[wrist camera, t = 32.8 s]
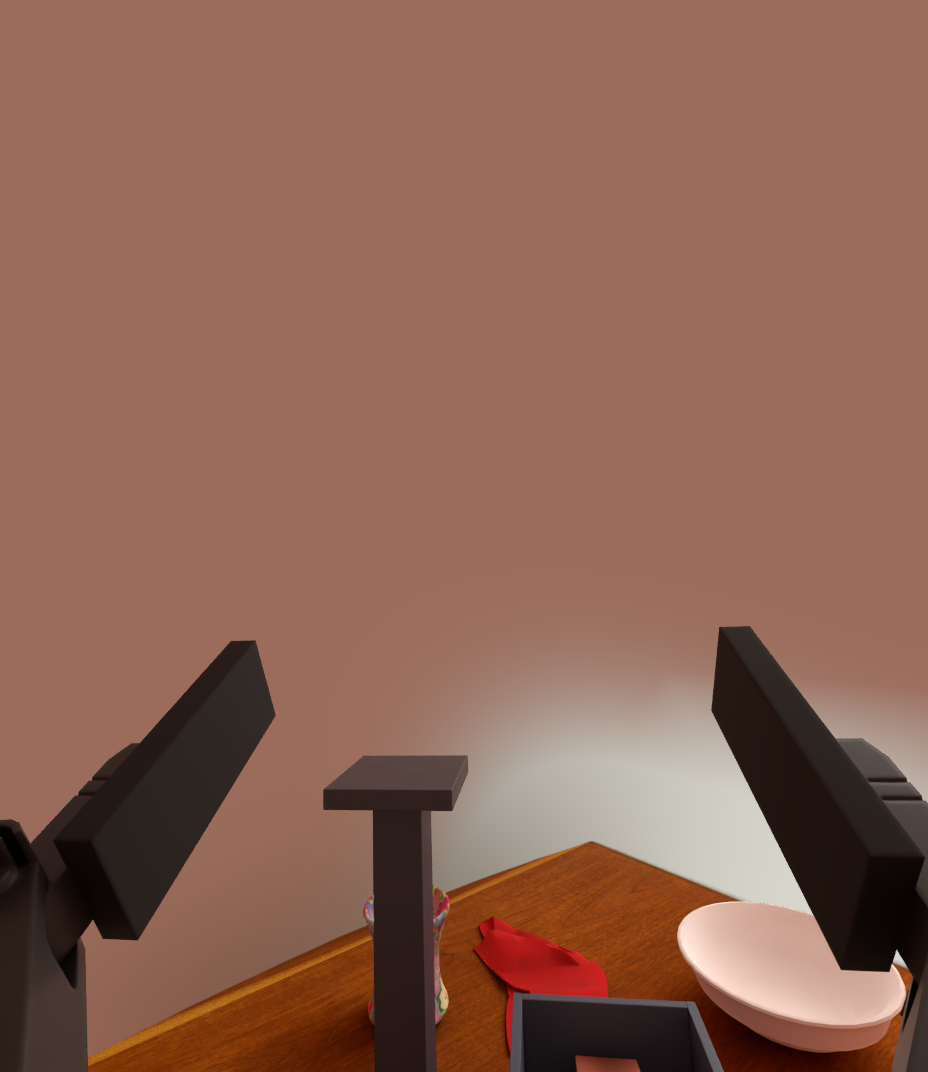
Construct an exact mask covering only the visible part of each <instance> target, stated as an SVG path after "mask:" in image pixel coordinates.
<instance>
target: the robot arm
mask: <svg viewBox="0 0 928 1072" xmlns="http://www.w3.org/2000/svg"><path fill="white" fill-rule="evenodd" d="M712 713H713V714H714V717H715V719H716V721H717V723H718V725H719V727H720V729H721V731H722V733H723V735H724V737H725V739H726V741H727V743H728V745H729V747H730V749H731V750H732V753H733V755H734V757H735V759H736V761H737V763H738V765H739V767H740V769H741V771H742V773H743V775H744V777H745V779H746V781H747V783H748V785H749V787H750V789H751V791H752V793H753V795H754V797H755V799H756V801H757V803H758V805H759V807H760V809H761V811H762V813H763V815H764V817H765V819H766V821H767V823H768V825H769V827H770V829H771V831H772V833H773V835H774V837H775V839H776V841H777V843H778V845H779V847H780V848H781V851H782V853H783V855H784V857H785V859H786V861H787V863H788V865H789V867H790V869H791V871H792V873H793V875H794V877H795V879H796V881H797V883H798V885H799V887H800V889H801V891H802V893H803V895H804V897H805V899H806V901H807V903H808V905H809V907H810V909H811V911H812V913H813V915H814V917H815V919H816V921H817V923H818V925H819V927H820V929H821V931H822V933H823V935H824V937H825V939H826V941H827V943H828V945H829V947H830V949H831V951H832V953H833V955H834V957H835V959H836V961H837V963H838V965H839V967H840V969H841V970H847V971H871V972H890V969H891V966H892V962H893V959H894V956H895V953H896V950H898V952H899V954H900V956H901V957H902V959H903V960H904V962H905V964H906V966H907V967H908V969H909V971H910V972H911V974H912V975H913V978H912V981H911V984H910V987H909V989H908V992H907V995H906V998H905V1001H904V1004H903V1007H902V1010H901V1013H900V1015H901V1016H903V1018H902V1022H901V1027H900V1031H899V1036H898V1040H897V1045H896V1049H895V1054H894V1058H893V1063H892V1067H891V1072H928V803H927V802H926V801H923V800H922V796H921V795H920V794H919V792H918V791H917V790H916V789H915V788H914V787H913V785H912V784H911V783H908V782H907V778H906V777H905V776H904V775H903V773H902V772H901V771H900V770H899V769H898V768H897V766H896V765H895V764H894V763H893V762H892V761H891V759H890V758H889V757H888V756H886V755H885V754H883V753H882V752H881V751H879V750H878V749H876V748H875V747H874V746H872V745H871V744H869V743H868V742H866V741H865V740H864V739H861V738H860V739H835V738H834V736H833V735H832V734H831V733H830V731H829V730H828V729H827V727H826V726H825V725H824V723H823V722H822V721H821V719H820V718H819V717H818V715H817V714H816V713H815V711H814V710H813V709H812V708H811V706H810V705H809V704H808V703H807V701H806V700H805V699H804V697H803V696H802V694H801V693H800V692H799V690H798V689H797V688H796V687H795V685H794V684H793V683H792V681H791V680H790V679H789V678H788V676H787V675H786V673H785V672H784V671H783V670H782V668H781V667H780V666H779V664H778V663H777V662H776V660H775V659H774V658H773V656H772V655H771V654H770V653H769V651H768V650H767V648H766V647H765V646H764V645H763V643H762V642H761V641H760V639H759V638H758V637H757V635H756V634H755V633H754V631H753V630H752V629H751V627H750V626H744V627H743V626H741V627H719V636H718V647H717V658H716V668H715V680H714V689H713V700H712ZM274 717H275V711H274V708H273V704H272V700H271V696H270V693H269V689H268V685H267V682H266V678H265V674H264V671H263V667H262V663H261V659H260V656H259V652H258V648H257V645H256V641H231V642H230V643H229V644H228V645H227V646H226V647H225V649H224V650H223V651H222V652H221V653H220V654H219V655H218V656H217V658H216V659H215V660H214V661H213V662H212V663H211V664H210V665H209V666H208V668H207V669H206V670H205V671H204V672H203V673H202V674H201V675H200V677H199V678H198V679H197V680H196V681H195V682H194V683H193V684H192V685H191V687H190V688H189V689H188V690H187V691H186V692H185V693H184V694H183V695H182V697H181V698H180V699H179V700H178V701H177V702H176V703H175V705H174V706H173V707H172V708H171V709H170V710H169V711H168V712H167V713H166V714H165V716H164V717H163V718H162V719H161V720H160V721H159V722H158V723H157V725H156V726H155V727H154V728H153V729H152V730H151V731H150V732H149V733H148V735H147V736H146V737H145V738H144V739H143V740H142V741H141V743H134V744H130V745H129V746H127V747H126V748H124V749H123V750H122V751H120V752H119V753H117V754H116V755H115V756H113V757H112V758H111V759H109V760H108V761H107V762H106V763H105V764H104V765H103V766H102V768H100V770H99V771H98V772H97V773H96V774H95V775H94V776H93V777H92V778H93V779H92V781H88V782H87V784H86V785H85V786H84V787H83V788H82V789H81V790H80V791H79V794H78V796H75V797H73V799H72V800H71V801H70V802H69V803H68V804H67V805H66V806H65V807H64V808H63V809H62V810H61V811H60V813H59V814H58V815H57V816H56V817H55V818H54V819H53V820H52V821H51V822H50V823H49V824H48V825H47V826H46V828H45V829H44V830H43V831H42V832H41V833H40V834H39V835H38V836H37V837H36V838H35V839H34V840H33V842H32V843H31V844H30V842H29V840H28V838H27V837H26V835H25V833H24V831H23V829H22V827H21V825H20V824H19V823H18V822H16V821H14V820H11V819H10V820H0V1072H88V1057H87V1014H86V1013H87V1012H86V963H85V948H84V945H83V942H82V940H81V938H80V937H81V935H82V934H83V933H84V931H85V930H86V928H87V927H88V926H89V924H90V923H91V921H92V920H94V922H95V924H96V926H97V928H98V930H99V932H100V934H101V936H102V938H103V939H121V940H138V939H139V938H140V936H141V934H142V933H143V931H144V929H145V928H146V926H147V924H148V923H149V921H150V920H151V918H152V916H153V915H154V913H155V911H156V910H157V908H158V907H159V905H160V903H161V901H162V900H163V898H164V897H165V895H166V893H167V892H168V890H169V888H170V887H171V885H172V884H173V882H174V880H175V879H176V877H177V876H178V874H179V872H180V871H181V869H182V867H183V866H184V864H185V862H186V861H187V859H188V858H189V856H190V854H191V853H192V851H193V849H194V847H195V846H196V844H197V843H198V841H199V840H200V838H201V836H202V835H203V833H204V831H205V830H206V828H207V827H208V824H209V823H210V822H211V820H212V818H213V817H214V815H215V814H216V812H217V810H218V809H219V807H220V805H221V804H222V802H223V800H224V799H225V797H226V796H227V794H228V792H229V791H230V789H231V787H232V786H233V784H234V782H235V781H236V779H237V778H238V776H239V774H240V773H241V771H242V769H243V768H244V766H245V765H246V763H247V761H248V760H249V758H250V756H251V755H252V753H253V752H254V750H255V748H256V747H257V745H258V743H259V742H260V740H261V738H262V737H263V735H264V733H265V732H266V730H267V729H268V727H269V725H270V724H271V722H272V720H273V719H274Z"/></svg>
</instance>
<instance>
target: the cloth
mask: <svg viewBox="0 0 928 1072" xmlns="http://www.w3.org/2000/svg"><path fill="white" fill-rule="evenodd" d="M479 925H480V930H481V933H482V935H483V937H484V940H483V942H482V943H480V944H479V945H478V946H476V947H475V948H474V950H475V952H476V953H477V954H478V955H479V957H480V958H481V959H482V960H483V962H484V963H485V964H486V965H487V966H488V967H489V968H490V969H491V970H492V971H493V972H494V973H496V974H497V975H498V976H499V977H500V978H501V979H502V980H504V982H505V984H506V986H507V988H508V995H509V999H508V1004H507V1012H506V1029H507V1040H508V1046H509V1051H511V1031H512V1011H513V993H522V994H523V993H526V994H546V995H566V996H586V997H606V998H608V986H607V979H606V975H605V973H604V972H603V970H602V969H601V967H600V966H599V964H598V963H597V962H592V961H587V960H586V959H585V958H584V957H583V956H582V955H581V953H578V952H575V951H572V950H569V949H565V948H562V947H559V946H558V945H556V944H554V943H552V942H550V941H548V940H546V939H543V938H541V937H538V936H536V935H533V934H530V933H527V932H523V931H520V930H515V929H513V928H512V927H511V926H509V925H508V924H506V923H504V922H502V921H500V920H498V919H496V918H494V916H493V917H491V918H489V919H487V920H485V921H483V922H482V923H479Z"/></svg>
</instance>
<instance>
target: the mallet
mask: <svg viewBox="0 0 928 1072" xmlns="http://www.w3.org/2000/svg"><path fill="white" fill-rule="evenodd" d="M575 1062H576V1072H641V1071H640V1069H639V1066H638V1063H637V1060H634V1059H620V1058H606V1057H592V1056H578V1055H576V1056H575Z"/></svg>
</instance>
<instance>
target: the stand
mask: <svg viewBox="0 0 928 1072" xmlns="http://www.w3.org/2000/svg"><path fill="white" fill-rule="evenodd" d="M467 773H468V757H467V756H363V757H362V758H361V759H359V760H358V761H357V762H356V763H355V764H353V765H352V766H351V767H350V768H349V769H347V770H346V771H345V772H344V773H343V774H341V775H340V776H339V777H338V778H337V779H336V780H335V781H333V782H332V783H331V784H330V785H328V786H327V787H326V788H325V789H324V793H323V807H324V810H373V883H374V885H373V892H374V1034H375V1072H437V1068H436V1023H435V978H434V933H433V888H432V846H431V845H432V843H431V811H452V810H453V808H454V805H455V802H456V800H457V798H458V795H459V793H460V791H461V788H462V786H463V783H464V781H465V778H466V776H467Z"/></svg>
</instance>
